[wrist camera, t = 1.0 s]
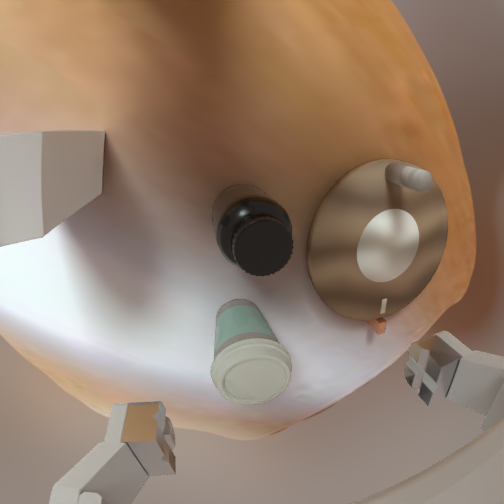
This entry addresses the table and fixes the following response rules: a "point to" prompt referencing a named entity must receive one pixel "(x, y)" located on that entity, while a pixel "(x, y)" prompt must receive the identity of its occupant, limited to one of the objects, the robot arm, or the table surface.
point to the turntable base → (378, 325)
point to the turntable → (377, 239)
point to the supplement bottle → (252, 230)
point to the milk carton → (46, 179)
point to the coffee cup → (248, 356)
